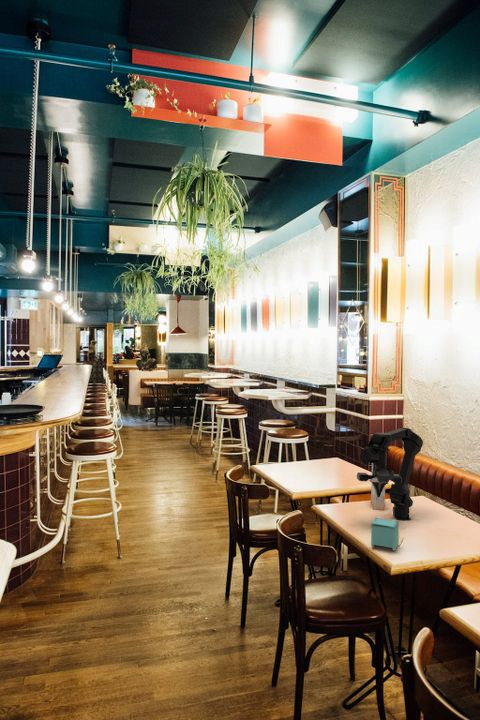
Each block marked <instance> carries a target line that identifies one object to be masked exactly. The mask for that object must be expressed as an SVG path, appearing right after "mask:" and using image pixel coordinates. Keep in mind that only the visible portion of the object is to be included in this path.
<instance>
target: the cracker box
mask: <svg viewBox="0 0 480 720" xmlns="http://www.w3.org/2000/svg"><path fill="white" fill-rule="evenodd" d="M372 472H373V465H372V464H371V475H373V474H372ZM375 478H377V477H375ZM378 482H379V481H378ZM370 487H371V489H370V490H371V491H370V494H371V495H370V502H371V507H372V510H375V511H376V510H378V511H385V508H386V507H385V506H386V505H385V503H386V499H385V497H386V496H385V495H386V485H385V486H384V488H383V490H382V492H381V495H380V497H377V495H376V491H375V488H374V486H373V484H372V483H371V486H370Z"/></svg>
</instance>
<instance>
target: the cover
mask: <svg viewBox="0 0 480 720" xmlns="http://www.w3.org/2000/svg"><path fill="white" fill-rule="evenodd" d="M399 524H400V523H399V520H392V519H386V518H379V517H375V518H374V519H373V521H372V522H371V530H370V531H371V532H370V533H371V535H370V536H371V537H370V540H371V541H370V545H371V547H374V546H381V547H385V548H390V549H392V551H396V550H397V548H398V547H397V545H398V543H399V537H400V536H399V534H400V533H399V532H400V531H399Z"/></svg>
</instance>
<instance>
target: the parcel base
mask: <svg viewBox="0 0 480 720" xmlns="http://www.w3.org/2000/svg"><path fill="white" fill-rule="evenodd" d="M403 541H404V537H403V536H399V543H398V545H397V547H396V548H400V546H401V544H402V543H403Z"/></svg>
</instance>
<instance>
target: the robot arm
mask: <svg viewBox="0 0 480 720" xmlns="http://www.w3.org/2000/svg"><path fill="white" fill-rule="evenodd" d="M398 440H400V441H401V442H402V444H403V445H402V448H403V452H404V454H403V458H402V461H401V466H400V468H399V469H400V470H399V473H395V471H394V470H388V466H387V457H388V456H387V453H388V452H390V451H391V450H390V449H389V448H388V447H389V446H391V445H392V443H393V442H396V441H398ZM423 446H424V440H423V439H422V438H421V437H420V435H419V434H417V433H416V432H414V431H413V430H412V429H411V428H409V427H403V426H402V427H399V428H398V429H395V430H391V431H389V432H374V433H373V434H372V435H371V437H370V439H369V441H368V444H367V445H366V447H364V448H363V450H362V451H361V453H360V455H359V457H360V461H361V462H362V463H363V464H365V465H367V464H371V466H372V465H373V472H372V471H371V474H368V473H367V472H357V474H356V479H357V480H358V481H359V482H368V481H369V482H370V483H371V484H373V486H374V488H375V491H376V495H377V497H380V495H381V492H382V490H383V488H384V486H385V487H386V486H387V485H389V484H390V483H389V482H390V481H392V482H394V483H391V485H390V490H389V493H388V495H389V500H390V504H393V507H392V516H393V517H394V518H395V520H396V521H399V520H400V521H401V520H402V521H403V520H404V521H406V520H407V521H410V520H411V517H410V508H412V507H413V504H414V501H413V499H412V498H411V496H410V492H411V491H410V488H409V482H410V478H411V475H412V471H413V466H414V462H415V459H416V456H417V455H418V454H419V453H420V452H421V450H422V447H423ZM372 474H373V475H372ZM375 477H377V478H375ZM378 481H379V482H378Z"/></svg>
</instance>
